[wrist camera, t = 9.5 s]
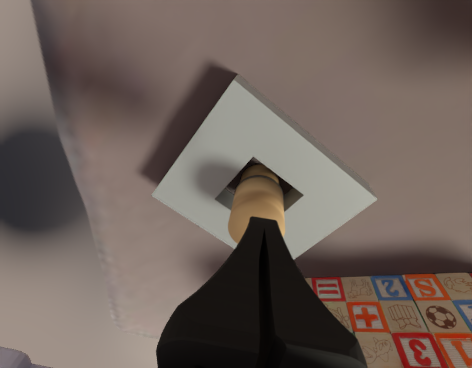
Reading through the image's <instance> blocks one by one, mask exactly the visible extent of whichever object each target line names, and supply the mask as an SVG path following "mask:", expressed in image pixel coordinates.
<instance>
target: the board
mask: <svg viewBox="0 0 472 368" xmlns="http://www.w3.org/2000/svg"><path fill="white" fill-rule="evenodd" d="M252 157H255V158H256V159H257V160H259V161H260V162H261V163H263V164H264V165H265V166H267V167H268V168H269V169H271V170H272V171H273V172H274V173H276V174H277V175H278V176H280V177H281V178H282V179H284V180H285V181H286V182H288V183H289V184H290V185H291V186H293V188H292V189H291V190H290V191H289V192H288V193H286V194H285V195H284V196H283V205H284V219H285V234H284V237H283V239H284V241H285V243H286V245H287V247H288V250H289V252H290V254H291V256H292V258H293V260H294V259H295V258H297V257H298V256H300V255H301V254H302V253H304V252H305V251H307V250H308V249H309V248H311V247H312V246H313V245H315V244H316V243H318V242H319V241H320V240H322V239H323V238H325V237H326V236H327V235H329V234H330V233H332V232H333V231H334V230H336V229H337V228H339V227H340V226H341V225H343V224H344V223H345V222H347V221H348V220H350V219H351V218H352V217H354V216H355V215H357V214H358V213H359V212H361V211H362V210H364V209H365V208H366V207H368V206H369V205H371V204H372V203H373V202H375V201H376V200H378V199H377V197H376V196H375V194H374V192H373V191H372V189H371V188H370V186H369V184H368V183H367V182H366V181H364V180H363V179H362V178H361V177H360V176H358V175H357V174H356V173H355V172H354V171H353V170H351V169H350V168H349V167H348V166H347V165H345V164H344V163H343V162H342V161H341V160H339V159H338V158H337V157H336V156H335V155H334V154H332V153H331V152H330V151H329V150H328V149H326V148H325V147H324V146H323V145H322V144H320V143H319V142H318V141H317V140H316V139H315V138H313V137H312V136H311V135H310V134H309V133H307V132H306V131H305V130H304V129H303V128H301V127H300V126H299V125H298V124H297V123H296V122H294V121H293V120H292V119H291V118H290V117H288V116H287V115H286V114H285V113H284V112H282V111H281V110H280V109H279V108H278V107H277V106H275V105H274V104H273V103H272V102H271V101H269V100H268V99H267V98H266V97H265V96H263V95H262V94H261V93H260V92H259V91H258V90H256V89H255V88H254V87H253V86H252V85H250V84H249V83H248V82H247V81H246V80H244V79H243V78H242V77H241V76H240V75H239V74H238V75H237V76H236V77H235V78H234V80H233V81H232V83H231V84H230V85H229V87H228V88H227V90H226V91H225V92H224V94H223V95H222V97H221V98H220V99H219V101H218V102H217V104H216V105H215V107H214V108H213V109H212V111H211V112H210V114H209V115H208V116H207V118H206V119H205V121H204V122H203V123H202V125H201V126H200V128H199V129H198V130H197V132H196V133H195V135H194V136H193V137H192V139H191V140H190V142H189V143H188V144H187V146H186V147H185V149H184V150H183V152H182V153H181V154H180V156H179V157H178V159H177V160H176V161H175V163H174V164H173V166H172V167H171V168H170V170H169V171H168V173H167V174H166V175H165V177H164V178H163V180H162V181H161V182H160V184H159V185H158V187H157V188H156V190H155V191H154V192H153V194H152V195H151V196H153V197H154V198H156V199H158V200H159V201H161V202H162V203H164V204H165V205H167V206H168V207H170V208H172V209H173V210H175V211H176V212H178V213H179V214H181V215H182V216H184V217H186V218H187V219H189V220H190V221H192V222H193V223H195V224H196V225H198V226H200V227H201V228H203V229H204V230H206V231H207V232H209V233H210V234H212V235H214V236H215V237H217V238H218V239H220V240H221V241H223V242H224V243H226V244H228V245H229V246H231V247H232V248H234V249H235V248H236V246H237V245H238V244H237V243H236V242H235V241H234V240H233V239H232V238H231V236H230V234H229V232H228V222H229V217H230V213H231V208H232V204H233V200H234V195H233V194H232V193H230V192H229V191H228V190H226V189H225V187H226V186H227V185H228V184H229V183H230V182H231V180H232V179H233V178H234V177H235V176H236V175H237V174H238V173H239V172H240V171H241V169H242V168H243V167H244V166H245V165H246V164H247V163H248V162H249V161H250V159H251V158H252Z"/></svg>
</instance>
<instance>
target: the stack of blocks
mask: <svg viewBox="0 0 472 368" xmlns="http://www.w3.org/2000/svg"><path fill="white" fill-rule="evenodd" d="M305 280H306V281H307V283H308V284H309V285H310V287H311V288H312V290H313V291H314V292H315V294H316V295H317V296H318V297H319V299H320V300H321V301H322V302H323V304H324V305H325V306H326V307H327V308H328V310H329V311H330V312H331V313H332V314H333V315H334V316H335V317H336V318H337V319H338V320H339V321H340V322H341V323H342V324H343V325H344V326H345V327H346V328H347V329H348V330H349V331H350V332H351V333H352V334H353V335H354V336H355V337H356V338H357V339H358V341H359V344H360V346H361V349H362V351H363V354H364V357H365V359H366V363H367V366H368V368H472V273H470V274H468V273H440V274H404V275H389V276H370V277H369V276H364V277H324V278H305Z"/></svg>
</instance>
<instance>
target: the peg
mask: <svg viewBox="0 0 472 368" xmlns="http://www.w3.org/2000/svg"><path fill="white" fill-rule="evenodd" d="M252 216H254V217H261V218H267V219H273V220H276V221H277V222H278V225H279V228H280V231H281V234H282V236H283V237H284V234H285V219H284V205H283V191H282V188H281V186H280V185H279V177H278V175H277V174H276V173H274V172H273V171H272V170H271V169H269V168H268V167H267V166H265V165H260V164H259V165H253V166H251V167H249V168H247V169H246V170H245V171H244V172H243V174H242V177H241V181H240V183H239V184H238V185H237V187H236V189H235V194H234V200H233V204H232V208H231V213H230V217H229V222H228V232H229V234H230V236H231V238H232V239H233V240H234V241H235V242H236V243H237V244H238V243H239V242H240V240H241V238H242V236H243V234H244V233H245V230H246V228H247V226H248V223H249V220H250V217H252Z"/></svg>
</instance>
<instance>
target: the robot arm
mask: <svg viewBox="0 0 472 368" xmlns="http://www.w3.org/2000/svg"><path fill="white" fill-rule="evenodd" d="M156 355H157V364H158V368H368V366H367V363H366V359H365V357H364V354H363V351H362V349H361V346H360V344H359V341H358V339H357V338H356V337H355V336H354V335H353V334H352V333H351V332H350V331H349V330H348V329H347V328H346V327H345V326H344V325H343V324H342V323H341V322H340V321H339V320H338V319H337V318H336V317H335V316H334V315H333V314H332V313H331V312H330V311H329V310H328V308H327V307H326V306H325V305H324V304H323V302H322V301H321V300H320V299H319V297H318V296H317V295H316V294H315V292H314V291H313V290H312V288H311V287H310V285H309V284H308V283H307V281H306V280H305V278H304V277H303V275H302V273H301V272H300V270H299V268H298V267H297V265H296V263H295V261H294V260H293V258H292V256H291V254H290V252H289V250H288V247H287V245H286V243H285V241H284V239H283V236H282V234H281V231H280V228H279V225H278V222H277V221H276V220H273V219H267V218H261V217H254V216H252V217H250V220H249V223H248V226H247V228H246V230H245V233H244V234H243V236H242V238H241V240H240V242H239V243H238V245H237V246H236V248H235V249H234V251H233V252H232V254H231V255H230V256H229V258H228V259H227V260H226V262H225V263H224V264H223V265H222V266H221V268H220V269H219V270H218V271H217V272H216V273H215V274H214V275H213V276H212V277H211V278H210V279H209V280H208V281H207V282H206V283H205V284H204V285H203V286H202V287H201V288H200V289H198V290H197V291H196V292H195V293H194V294H193V295H191V296H190V297H189V298H187V299H186V300H185V301H184V302H182V303H181V304H180V305H178V307H177V308H176V310H175V311H174V313H173V314H172V316H171V317H170V319H169V320H168V322H167V324H166V326H165V328H164V330H163V332H162V334H161V337H160V340H159V342H158V345H157V350H156ZM0 368H51V367H46V366H41V365H36V364H32V363H31V360H30V358H29V356H28V355H26V354H25V353H23V352H21V351H18V350H14V349H9V348H4V347H0Z"/></svg>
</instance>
